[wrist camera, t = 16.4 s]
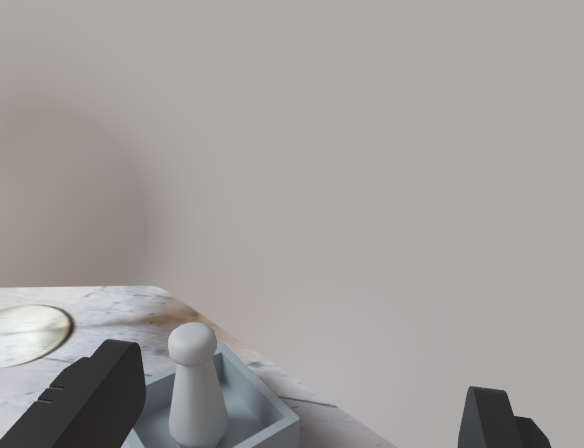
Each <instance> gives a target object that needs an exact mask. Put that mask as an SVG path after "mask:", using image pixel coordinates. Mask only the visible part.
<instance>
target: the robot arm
mask: <svg viewBox="0 0 584 448" xmlns="http://www.w3.org/2000/svg"><path fill="white" fill-rule="evenodd" d="M145 400H146V384H145V377H144V370H143V363H142V356H141V349H140V346H139V344H138V343H136V342H128V341H120V340H112V339H108V340H105V341H104V342H103V343H102V344H101V345H100V347H99V348H98V349H97V350H96V351H95V352H94V354H93V355H92V356H91V357H90V358H88V357H83V358H81V359H79V360H78V361H76V362H75V363H73V364H72V365H70V366H68V367H67V368H65V369H64V370H63V371H62V372H61V373H60V374H59V375H58V376H57V377H56V379H55V380H54V381H53V382H52V383H51V384H50V387H49V389H48V388H47V389H46V390H45V391H44V392H43V393H42V394H41V395H40V396H39V397H38V401H37V402H34V403H33V404H32V405H31V406H30V407H29V409H28V410H27V411H26V412H25V413H24V414H23V415H22V416H21V417H20V419H19V420H18V421H17V422H16V423H15V424H14V425H13V426H12V427H11V429H10V430H9V431H8V432H7V433H6V434H5V435H4V436H3V437H2V438H1V440H0V448H121V446H122V445H123V443H124V441H125V440H126V438H127V436H128V435H129V433H130V432H131V430H132V428H133V427H134V425H135V423H136V422H137V420H138V418H139V417H140V415H141V413H142V411H143V408H144V405H145ZM458 448H551V446H550V443H549V440H548V438H547V437H546V436H545V435H544V434H543V432H542V431H541V430H540V429H539V428H538V426H537V425H536V424H535V423H534V422H533V420H531V418H525V417H517V416H514V415H513V412H512V408H511V405H510V402H509V399H508V396H507V393H506V392H505V391H504V390H496V389H489V388H481V387H473V386H470V387H469V389H468V392H467V396H466V402H465V407H464V412H463V417H462V422H461V427H460V432H459V438H458Z"/></svg>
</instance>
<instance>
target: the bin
mask: <svg viewBox="0 0 584 448" xmlns="http://www.w3.org/2000/svg"><path fill="white" fill-rule="evenodd" d="M212 359H213V362H214V366H215V369H216V373H217V376H218V380H219V384H220V387H221V391H222V394H223V398H224V401H225V405H226V409H227V412H228V416H229V423H228V427H227V430H226V433H225V434H224V436H223V437H222V439H221V440H220V442H219V444H218V445H217V447H216V448H300V417H299V416H297V415H296V414H295V413H294V412H293V411H292V410H291V409H290V408H289V407H288V406H287V405H286V404H285V403H284V402H283V401H282V400H281V399H280V398H279V397H278V396H277V395H276V394H275V393H274V392H273V391H272V390H271V389H270V388H269V387H268V386H267V385H266V384H265V383H264V382H263V381H262V380H261V379H260V378H259V377H258V376H256V375H255V374H254V373H253V372H252V371H251V370H250V369H249V368H248V367H247V366H246V365H245V364H244V363H243V362H242V361H241V360H240V359H239V358H238V357H237V356H236V355H235V354H234V353H233V352H232V351H231V350H230V349H229V348H228V347H227V346H226V345H225V344H224V345H222V346H219V347H217V349H216V352H215V354H214V356H213V357H212ZM176 367H177V365H176V366H173V367H171V368H169V369H166V370H164V371H162V372H160V373H157V374H155V375H153V376H150V377H148V378H146V379H145V384H146V400H145V405H144V408H143V411H142V413H141V415H140V417H139V418H138V420H137V422H136V423H135V425H134V427H133V428H132V430H131V432H130V433H129V435H128V436H127V438H126V440H125V441H124V443H123V445H122V446H121V448H180V446H179V445H178V444H177V443H176V442H175V441H174V439H173V438H172V437H171V435H170V430H169V417H170V410H171V403H172V396H173V389H174V381H175V374H176Z"/></svg>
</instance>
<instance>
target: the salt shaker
mask: <svg viewBox="0 0 584 448" xmlns="http://www.w3.org/2000/svg"><path fill="white" fill-rule="evenodd" d="M168 347H169V353H170V357H171V358H172V360H174V361H175V362H176V363H177V367H176V374H175V381H174V389H173V396H172V403H171V410H170V417H169V430H170V435H171V437H172V438H173V439H174V441H175V442H176V443H177V444H178V445H179V446H180V448H216V447H217V445H218V444H219V442H220V440H221V439H222V437H223V436H224V434H225V433H226V430H227V427H228V423H229V416H228V412H227V409H226V405H225V401H224V398H223V394H222V391H221V387H220V384H219V380H218V376H217V373H216V369H215V366H214V362H213V359H212V357H213V356H214V354H215V352H216V349H217V339H216V336H215V333H214V330H213V329H212V328H211V327H209V326H208V325H206V324H203V323H199V322H192V323H187V324H183V325H181V326H179V327H178V328H176V329H175V330H174V331H173V332H172V333H171V335H170V337H169V340H168Z"/></svg>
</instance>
